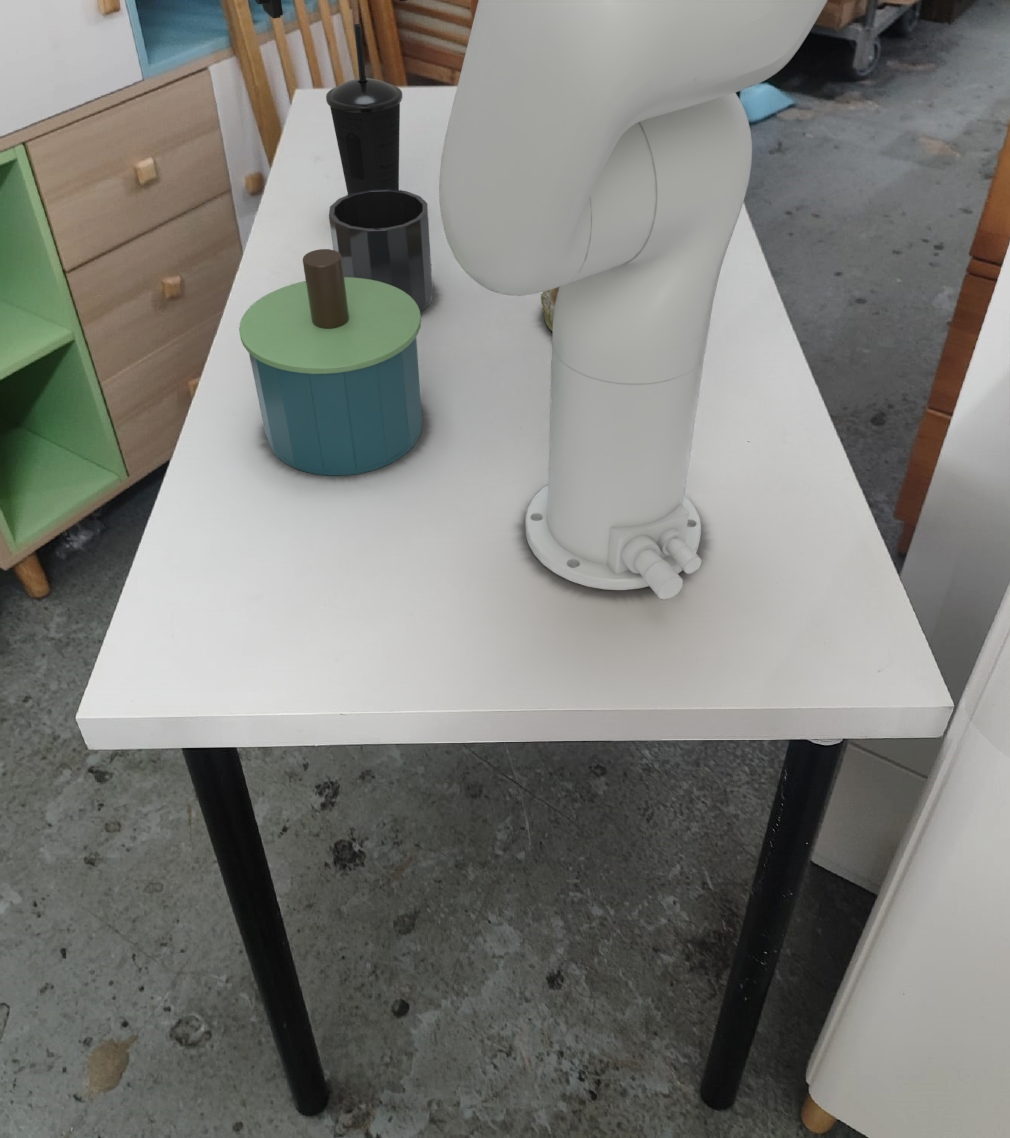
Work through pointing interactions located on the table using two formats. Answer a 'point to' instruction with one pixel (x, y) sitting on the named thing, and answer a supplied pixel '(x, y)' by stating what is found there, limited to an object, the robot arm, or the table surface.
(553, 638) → the table surface
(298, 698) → the table surface
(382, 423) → the tin
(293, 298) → the lid
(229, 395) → the table surface
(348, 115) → the drinking cup
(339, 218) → the cup
